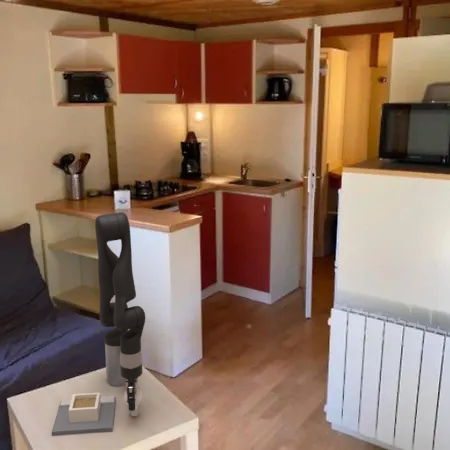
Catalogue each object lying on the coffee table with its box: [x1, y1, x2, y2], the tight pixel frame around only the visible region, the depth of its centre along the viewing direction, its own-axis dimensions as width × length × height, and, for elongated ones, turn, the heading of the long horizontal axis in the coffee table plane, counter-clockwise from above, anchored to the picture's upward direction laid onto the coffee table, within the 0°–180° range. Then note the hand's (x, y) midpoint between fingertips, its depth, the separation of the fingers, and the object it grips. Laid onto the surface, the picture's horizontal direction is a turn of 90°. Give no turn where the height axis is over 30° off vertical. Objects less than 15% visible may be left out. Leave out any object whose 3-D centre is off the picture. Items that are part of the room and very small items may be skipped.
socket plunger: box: [74, 398, 96, 408], centre depth 183 cm, size 7×7×2 cm
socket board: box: [51, 392, 117, 436], centre depth 183 cm, size 18×20×6 cm
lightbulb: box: [123, 387, 143, 417], centre depth 184 cm, size 6×6×11 cm
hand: (132, 403), depth 183 cm, fingers open, 8 cm apart
